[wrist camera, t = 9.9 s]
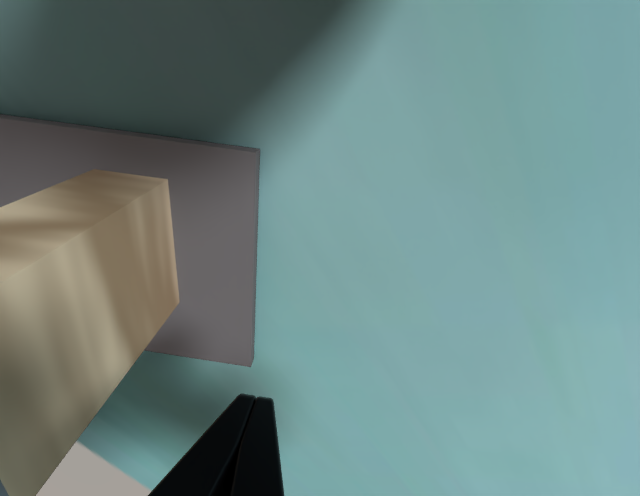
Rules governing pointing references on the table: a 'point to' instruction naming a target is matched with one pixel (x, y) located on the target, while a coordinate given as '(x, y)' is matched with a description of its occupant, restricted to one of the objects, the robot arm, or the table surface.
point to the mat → (186, 211)
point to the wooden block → (76, 309)
